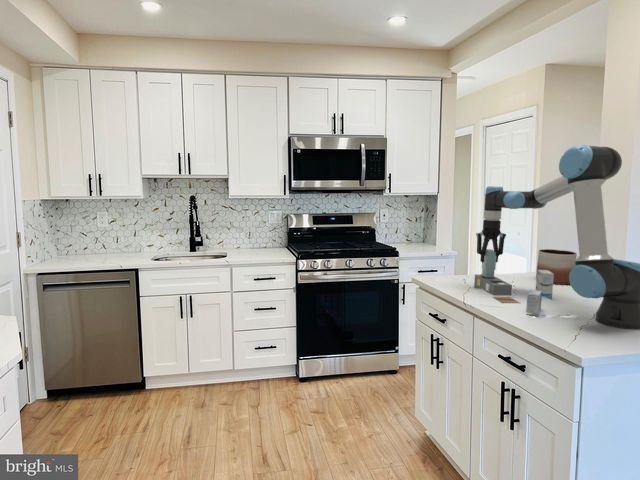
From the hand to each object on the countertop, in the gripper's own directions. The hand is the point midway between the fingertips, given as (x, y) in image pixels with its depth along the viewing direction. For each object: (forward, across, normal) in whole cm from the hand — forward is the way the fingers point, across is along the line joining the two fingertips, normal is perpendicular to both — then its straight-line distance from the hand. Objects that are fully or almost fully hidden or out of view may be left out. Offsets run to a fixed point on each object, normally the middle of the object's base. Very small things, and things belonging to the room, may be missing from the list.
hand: (488, 269), depth 208 cm
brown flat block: (+10, +2, +24) cm, 26 cm away
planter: (+10, -44, -20) cm, 49 cm away
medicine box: (+10, -2, +39) cm, 40 cm away
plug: (+4, 0, 0) cm, 4 cm away
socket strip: (+10, 0, +5) cm, 11 cm away
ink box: (+10, -20, +13) cm, 26 cm away
